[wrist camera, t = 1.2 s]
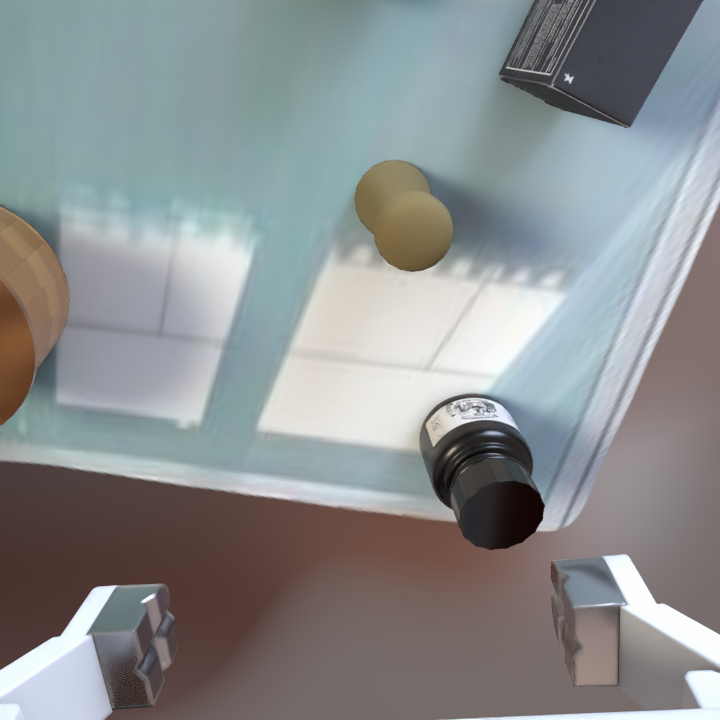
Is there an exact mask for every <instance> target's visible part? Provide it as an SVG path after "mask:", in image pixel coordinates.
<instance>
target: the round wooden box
mask: <svg viewBox="0 0 720 720" xmlns="http://www.w3.org/2000/svg"><path fill="white" fill-rule="evenodd" d="M0 274H1V275H2V276H3V277H4V278H5V279H6V280H7V281H8V283H9V284H10V285H11V286H12V288H13V289H14V290H15V292H16V293H17V294H18V296H19V298H20V300H21V301H22V303H23V305H24V306H25V308H26V310H27V313H28V315H29V317H30V320H31V322H32V325H33V329H34V332H35V336H36V342H37V350H38V358H37V369H38V368H39V366H40V365H41V364H42V362H43V361H44V360H45V358H46V357H47V356H48V354H49V353H50V351H51V350H52V349H53V347H54V346H55V344H56V342H57V340H58V338H59V337H60V335H61V333H62V331H63V329H64V327H65V324H66V321H67V317H68V312H69V291H68V285H67V281H66V277H65V274H64V272H63V269H62V266H61V264H60V262H59V260H58V259H57V257H56V255H55V253H54V252H53V250H52V249H51V248H50V246H49V245H48V243H47V242H46V241H45V240H44V239H43V238H42V236H41V235H40V234H39V233H38V232H37V231H36V230H35V229H34V228H32V227H31V226H30V225H29V224H28V223H27V222H25V221H24V220H22V219H21V218H20V217H18V216H17V215H15V214H14V213H12V212H10V211H8V210H7V209H5V208H3V207H1V206H0ZM37 369H36V371H37Z"/></svg>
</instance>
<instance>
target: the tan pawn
mask: <svg viewBox="0 0 720 720" xmlns="http://www.w3.org/2000/svg"><path fill="white" fill-rule="evenodd" d="M355 206H356V212H357V214H358V216H359V218H360V221H361V222H362V223H363V224H364V225H365V226H366V227H367V229H368V230H369V231H371V232H372V233H373V234H374V238H375V243H376V246H377V248H378V250H379V252H380V255H381V256H382V257H383V258H384V259H385V260H386V261H387V262H388V263H389V264H391V265H393V266H394V267H396V268H398V269H400V270H405V271H411V272H414V271H422V270H425V269H428V268H430V267H432V266H434V265H436V264H437V263H438V262H439V261H440V260H441V259H442V258H444V256H445V254H446V253H447V251H448V250H449V248H450V245H451V242H452V238H453V221H452V219H451V216H450V214H449V211H448V210H447V208H446V207H445V206H444V205H443V204H442V202H441V201H440V200H439V199H437V198H435V197H434V196H432V192H431V188H430V186H429V183H428V181H427V178H426V177H425V176H424V174H423V173H422V172H421V171H420V170H419V168H417V167H415V166H414V165H412V164H410V163H409V162H404V161H399V160H391V161H384V162H382V163H379V164H377V165H375V166H373V167H372V168H371V169H370V170H369V171H368V172H366V173H365V174H364V175H363V177H362V179H361V181H360V182H359V184H358V186H357V190H356V195H355Z"/></svg>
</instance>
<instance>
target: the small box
mask: <svg viewBox="0 0 720 720" xmlns="http://www.w3.org/2000/svg"><path fill="white" fill-rule="evenodd" d="M702 1H703V0H535V2H534V4H533V6H532V7H531V10H530V12H529V14H528V16H527V17H526V19H525V21H524V24H523V26H522V28H521V30H520V32H519V34H518V36H517V38H516V40H515V42H514V44H513V46H512V48H511V50H510V52H509V54H508V57H507V59H506V61H505V63H504V65H503V67H502V69H501V71H500V73H499V76H500V78H501V80H502V81H505V82H507V83H511V84H514V85H515V87H519V88H520V89H521V90H525V91H526V92H529V93H531V94H533V95H534V96H535V97H538V98H540V99H542V100H544V101H545V103H548V104H549V105H552V106H555V107H557V108H560V109H562V110H564V111H569V112H572V113H576V114H580V115H584V116H587V117H591V118H595V119H598V120H602V121H606V122H609V123H613V124H617V125H620V126H623V127H625V128H629V127H630V126H631V125H632V123H633V121H634V120H635V118H636V116H637V114H638V113H639V111H640V109H641V107H642V106H643V104H644V102H645V101H646V99H647V97H648V95H649V94H650V92H651V90H652V88H653V86H654V85H655V83H656V81H657V79H658V78H659V76H660V74H661V72H662V71H663V69H664V67H665V66H666V64H667V62H668V60H669V59H670V57H671V55H672V53H673V52H674V50H675V48H676V46H677V45H678V43H679V41H680V39H681V38H682V36H683V34H684V33H685V31H686V29H687V27H688V26H689V24H690V22H691V20H692V19H693V17H694V15H695V14H696V12H697V10H698V8H699V7H700V5H701V3H702Z"/></svg>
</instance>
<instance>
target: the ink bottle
mask: <svg viewBox="0 0 720 720" xmlns="http://www.w3.org/2000/svg"><path fill="white" fill-rule="evenodd" d="M420 449H421V453H422V456H423V459H424V462H425V465H426V468H427V472H428V475H429V478H430V481H431V484H432V487H433V489H434V492H435V494H436V495H437V497H438V498H439V499H440V501H441V502H442V503H443V504H445V505H446V506H447V507H449V508H451V509H452V510H453V511H454V514H455V516H456V519H457V522H458V525H459V528H460V529H461V531H462V533H463V536H464V538H465V539H467V540H469V541H470V542H471V543H473V544H474V545H475V546H477V547H482V548H486V549H489V550H493V549H503V548H504V549H506V548H509V547H511V546H513V545H516V544H518V543H522V542H523V541H524V540H525V539H527V538H528V537H529V536H530V535H532V534H533V533H534V532H535V531H536V529H537V527H538V526H539V524H540V523H541V521H542V520H543V512H544V507H545V505H544V503H543V501H542V498H541V496H540V493H539V491H538V489H537V487H536V485H535V483H534V482H533V480H532V478H531V476H532V471H533V459H532V454H531V451H530V449H529V446H528V444H527V443H526V441H525V439H524V437H523V436H522V434H521V432H520V431H519V429H518V427H517V425H516V424H515V422H514V420H513V418H512V417H511V415H510V413H509V412H508V410H507V409H506V408H505V407H504V406H503V405H502V404H501V403H500V402H498V401H497V400H495V399H493V398H490V397H488V396H484V395H477V394H466V395H459V396H455V397H452V398H449V399H447V400H445V401H443V402H441V403H440V404H438V405H437V406H436V407H435V408H434V409H433V410H432V411H431V412H430V413H429V414H428V416H427V417H426V419H425V421H424V423H423V425H422V428H421V432H420Z"/></svg>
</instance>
